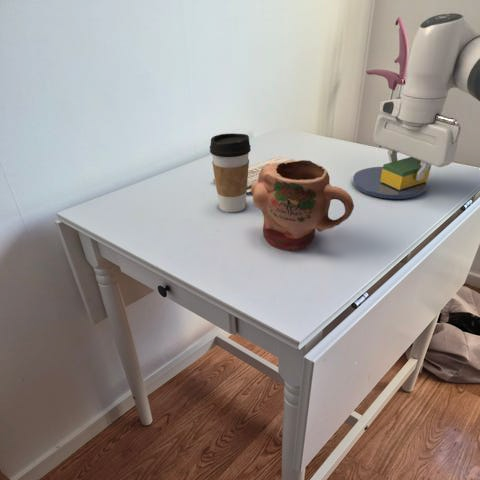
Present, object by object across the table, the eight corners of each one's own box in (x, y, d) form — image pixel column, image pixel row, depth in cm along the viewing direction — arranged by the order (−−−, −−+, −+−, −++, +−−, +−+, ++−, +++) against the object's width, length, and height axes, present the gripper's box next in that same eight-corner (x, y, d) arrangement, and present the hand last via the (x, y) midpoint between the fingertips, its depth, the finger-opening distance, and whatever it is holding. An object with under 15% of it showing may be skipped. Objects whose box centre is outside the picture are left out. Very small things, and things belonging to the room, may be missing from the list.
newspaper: (245, 198, 98) (244, 187, 96) (214, 187, 106) (212, 177, 104) (312, 172, 108) (312, 161, 107) (280, 164, 116) (279, 154, 115)
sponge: (407, 173, 103) (411, 156, 100) (426, 181, 99) (431, 164, 96) (380, 181, 99) (383, 164, 97) (399, 190, 95) (403, 172, 93)
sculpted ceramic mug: (355, 236, 83) (368, 166, 74) (338, 267, 75) (349, 192, 66) (263, 217, 90) (263, 151, 81) (237, 244, 82) (235, 173, 73)
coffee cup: (239, 218, 90) (237, 146, 80) (206, 210, 93) (200, 139, 84) (257, 202, 96) (258, 133, 86) (226, 195, 99) (222, 128, 89)
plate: (387, 167, 110) (388, 161, 109) (441, 189, 99) (443, 183, 98) (337, 181, 104) (338, 176, 103) (389, 207, 92) (390, 201, 92)
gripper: (473, 118, 83) (451, 186, 92) (395, 97, 97) (383, 158, 106) (452, 123, 81) (432, 192, 90) (374, 101, 94) (364, 163, 103)
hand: (405, 174), depth 98 cm, fingers closed on sponge, 6 cm apart
